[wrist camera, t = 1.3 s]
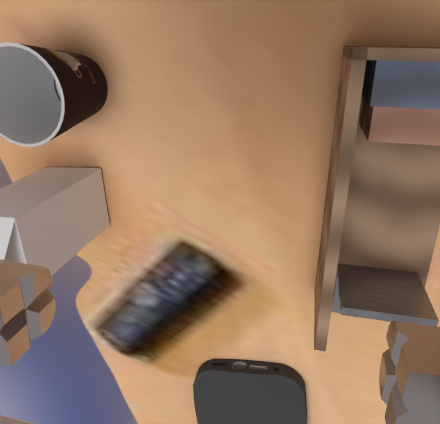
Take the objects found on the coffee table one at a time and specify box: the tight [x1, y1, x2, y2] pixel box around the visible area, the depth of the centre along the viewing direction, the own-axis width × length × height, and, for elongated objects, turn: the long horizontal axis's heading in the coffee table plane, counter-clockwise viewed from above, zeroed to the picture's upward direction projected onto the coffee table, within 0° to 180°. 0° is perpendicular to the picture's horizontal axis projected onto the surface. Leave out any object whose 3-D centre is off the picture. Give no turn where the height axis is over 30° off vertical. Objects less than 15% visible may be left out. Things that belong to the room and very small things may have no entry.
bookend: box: [332, 264, 438, 327], centre depth 41 cm, size 6×8×8 cm
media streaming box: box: [193, 359, 307, 424], centre depth 54 cm, size 15×15×3 cm
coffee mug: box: [0, 42, 107, 147], centre depth 39 cm, size 12×9×10 cm
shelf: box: [314, 46, 440, 351], centre depth 36 cm, size 26×11×10 cm, turn 179°
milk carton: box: [0, 167, 110, 276], centre depth 40 cm, size 7×7×19 cm
